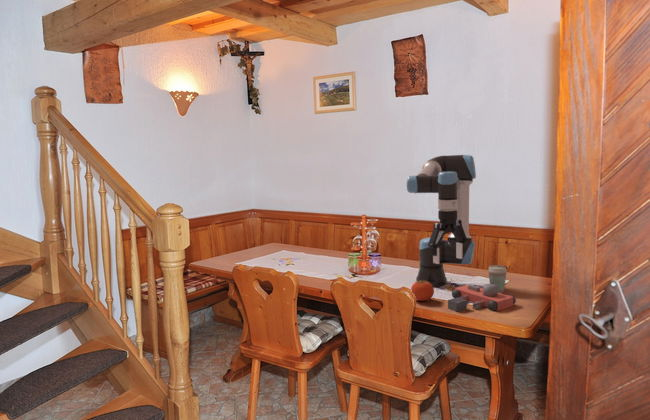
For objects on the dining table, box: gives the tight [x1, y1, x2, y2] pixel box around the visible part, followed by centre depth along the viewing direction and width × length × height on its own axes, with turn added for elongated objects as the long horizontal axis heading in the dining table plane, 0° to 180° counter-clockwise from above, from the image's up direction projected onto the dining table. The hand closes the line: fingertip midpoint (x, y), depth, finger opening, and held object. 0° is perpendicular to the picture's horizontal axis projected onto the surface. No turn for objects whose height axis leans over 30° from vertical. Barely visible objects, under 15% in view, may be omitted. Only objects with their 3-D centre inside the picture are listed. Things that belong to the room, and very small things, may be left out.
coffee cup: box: [487, 264, 508, 294], centre depth 223 cm, size 8×8×12 cm
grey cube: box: [447, 297, 468, 313], centre depth 202 cm, size 5×6×4 cm
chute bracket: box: [459, 295, 484, 310], centre depth 207 cm, size 10×6×2 cm, turn 32°
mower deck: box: [451, 283, 517, 312], centre depth 210 cm, size 24×13×8 cm, turn 32°
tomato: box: [410, 279, 435, 302], centre depth 214 cm, size 10×10×10 cm
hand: (448, 260), depth 196 cm, fingers open, 13 cm apart
